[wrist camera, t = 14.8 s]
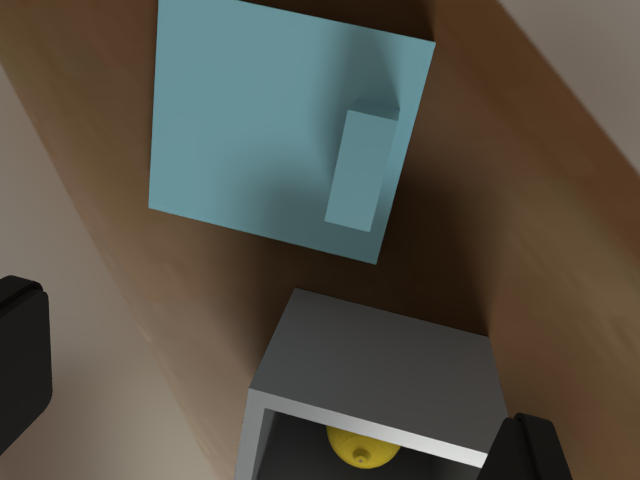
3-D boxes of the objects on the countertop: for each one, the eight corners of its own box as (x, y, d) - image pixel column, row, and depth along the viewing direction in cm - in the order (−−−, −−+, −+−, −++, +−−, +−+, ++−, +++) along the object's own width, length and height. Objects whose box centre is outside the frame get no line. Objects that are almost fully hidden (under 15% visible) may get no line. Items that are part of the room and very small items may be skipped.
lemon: (335, 343, 37) (316, 420, 30) (411, 351, 36) (410, 432, 29) (333, 402, 39) (315, 487, 32) (405, 411, 38) (403, 500, 31)
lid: (434, 41, 28) (439, 44, 23) (377, 251, 34) (371, 295, 28) (175, -14, 29) (120, -23, 24) (162, 198, 35) (115, 229, 29)
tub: (489, 337, 35) (519, 462, 25) (439, 459, 40) (448, 605, 30) (294, 287, 36) (248, 387, 26) (270, 412, 41) (223, 537, 31)
